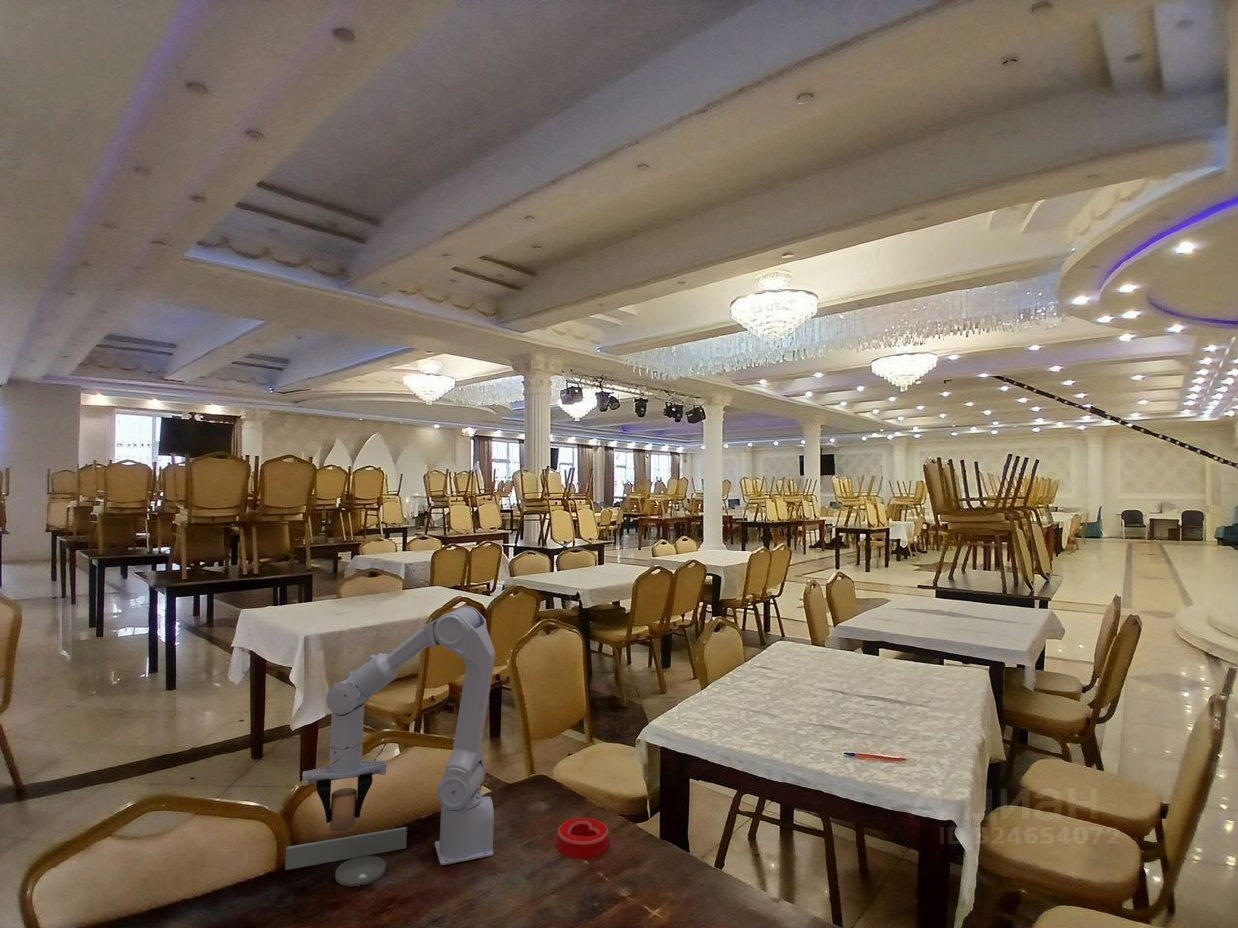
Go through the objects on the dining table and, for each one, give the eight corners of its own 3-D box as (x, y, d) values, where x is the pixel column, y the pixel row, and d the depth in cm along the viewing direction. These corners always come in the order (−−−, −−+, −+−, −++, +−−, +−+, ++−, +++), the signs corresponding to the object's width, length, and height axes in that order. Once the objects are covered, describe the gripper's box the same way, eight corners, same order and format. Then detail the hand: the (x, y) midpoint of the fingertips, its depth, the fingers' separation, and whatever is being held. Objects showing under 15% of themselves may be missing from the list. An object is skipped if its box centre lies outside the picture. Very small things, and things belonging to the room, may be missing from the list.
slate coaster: (383, 856, 116) (383, 852, 116) (386, 880, 108) (386, 875, 109) (335, 865, 113) (335, 860, 113) (335, 890, 105) (335, 885, 105)
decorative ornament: (546, 849, 120) (547, 831, 120) (577, 828, 128) (578, 812, 128) (588, 866, 115) (588, 847, 115) (617, 843, 123) (618, 826, 123)
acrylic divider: (405, 845, 120) (406, 826, 120) (406, 848, 119) (406, 828, 119) (285, 867, 112) (286, 846, 112) (285, 869, 111) (286, 849, 111)
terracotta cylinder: (355, 818, 123) (356, 786, 124) (355, 829, 119) (357, 795, 120) (330, 822, 122) (331, 789, 122) (329, 833, 118) (331, 799, 118)
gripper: (385, 732, 128) (382, 802, 127) (305, 741, 122) (301, 814, 121) (388, 744, 122) (385, 818, 121) (303, 754, 116) (299, 832, 115)
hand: (343, 817), depth 121 cm, fingers closed on terracotta cylinder, 4 cm apart
